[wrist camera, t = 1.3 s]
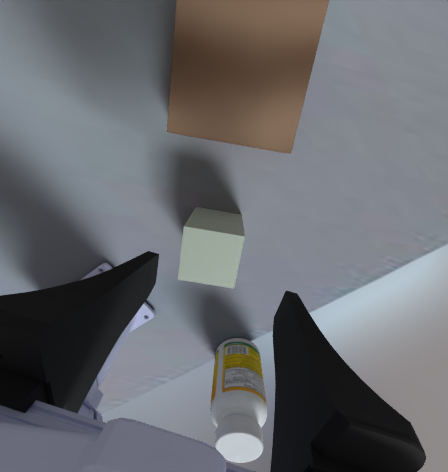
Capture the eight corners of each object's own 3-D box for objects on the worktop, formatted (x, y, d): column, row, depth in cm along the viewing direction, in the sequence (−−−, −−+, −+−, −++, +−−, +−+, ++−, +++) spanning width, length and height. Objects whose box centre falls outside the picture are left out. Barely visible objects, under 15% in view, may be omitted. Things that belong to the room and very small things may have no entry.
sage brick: (233, 255, 24) (233, 288, 19) (190, 248, 24) (177, 279, 18) (241, 214, 23) (244, 236, 17) (195, 206, 23) (183, 226, 17)
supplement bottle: (238, 328, 27) (241, 417, 18) (269, 354, 29) (286, 450, 20) (205, 353, 29) (193, 446, 20) (236, 377, 30) (238, 475, 21)
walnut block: (280, 152, 21) (290, 153, 17) (178, 134, 21) (166, 131, 17) (310, 26, 18) (330, -7, 14) (190, 3, 18) (179, -36, 14)
